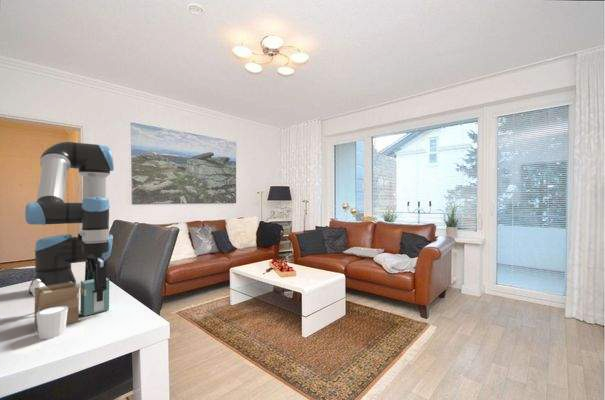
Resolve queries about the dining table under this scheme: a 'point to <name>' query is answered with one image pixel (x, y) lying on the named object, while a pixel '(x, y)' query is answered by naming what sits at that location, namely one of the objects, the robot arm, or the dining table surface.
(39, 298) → the cardboard box
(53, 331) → the shot glass
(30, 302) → the dining table surface
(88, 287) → the block
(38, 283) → the figurine
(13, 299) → the dining table surface
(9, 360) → the dining table surface
